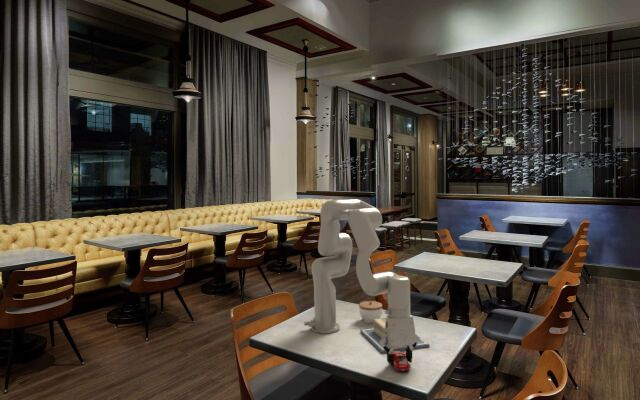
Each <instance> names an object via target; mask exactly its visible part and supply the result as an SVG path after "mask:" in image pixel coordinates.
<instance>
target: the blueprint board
mask: <svg viewBox="0 0 640 400" xmlns="http://www.w3.org/2000/svg"><path fill="white" fill-rule="evenodd" d="M385 323H386V317H384V318H381V317H380V319H373V323H372V324H373V325H372V326H373V328H369V329H360V331H359V332H360V334H362V336H364V338H365V339H366V340H367V341H369V342H370V343H371V344H372V345H373V346H374V347H375V348H376V349H377V350H378V351H379V352H380V353H381V354H382V355H383V354H387V351H385V350H384V349H383V348H382V347H381V346H380V345H379V344H378V343H379V341H380V340H381V339H382V338H383V337H384V335H385ZM417 336H418V337H419V338H420V341H419V342H418V343H417V345H416V346H415V348H414V350H417V349H424V348H429V347H430V343H428V342H427V341H426V340H424V339H423V338H421V337H420V336H419V335H417ZM387 344H388V343H386V342H385V343H384V345H385V346H386V347H387ZM406 348H407V346H401V347H394V349H393V351H400V352H403V351H404V352H405V351H406Z"/></svg>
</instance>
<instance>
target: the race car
mask: <svg viewBox="0 0 640 400" xmlns="http://www.w3.org/2000/svg"><path fill="white" fill-rule="evenodd" d="M392 354H393V355H394V365H393V366H392V367H393V370H395V371H396V372H410V362H408V360H407V358H406V353H405V352H403V351H393V352H392Z"/></svg>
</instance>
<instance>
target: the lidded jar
mask: <svg viewBox="0 0 640 400" xmlns="http://www.w3.org/2000/svg"><path fill="white" fill-rule="evenodd" d="M358 306H359V309H358V310H359V314H360V317H361V318H362V320H363V321H364V322H365V323H368V324H373V319H381V316H382V314H383V304H382V303H381V302H379V301H375V300H367V301H366V300H365V301H361V302H360V303H359V305H358Z"/></svg>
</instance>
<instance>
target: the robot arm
mask: <svg viewBox="0 0 640 400" xmlns="http://www.w3.org/2000/svg"><path fill="white" fill-rule="evenodd" d="M319 214H320V227H319V228H320V229H319V236H318V244H317V250H318V251H317V252H318V253H319V254H320V255H321V256H323V257H319V258H316V259H315V260H314V261H312V263H311V273H312V274H311V275H312V279H313V296H314V297H313V301H314V303H313V305H314V308H313V309H314V310H313V311H314V317H312V319H310V320H305V321H303V326H308V327H309V328H310V329H311V331H312V332H314V333H316V334H333V333H337V332H338V331H339V330H340V328H341V326H340V323H337V300H336V299H337V298H336V297H337V296H336V294H337V290H336V286H335V284H334V282H333V281H332V279H334V278H341V277H343V276H346V275H347V274H348V272H349V270H350V264H351V259H352V252H353V240H352V238H351V236H350V235H349V234H347V233H346V232H341V223H340V221H346V220H347V222H348V225H349V228H350V231H351V234H352V235H353V238H354V241H355V244H356V246H357V249H358V254H357V256H356V263H355V273H356V277H357V279H358V282H359V284H360V286H361V288H362V290H363V292H364V293H365V294H366V295H368V296H369V297H374V296H379V295H383V294H387V299H388V301H387V302H388V303H387V305H388V306H387V309H385V310H384V313H385V314H386V317H385V318H386V323H385V335H384V337H383V338H382V339H381V340H380V341H379V343H378V344H379V345H380V346H381V347H382V348H383V349H384V350H385V351H387V353H386V360H387V362H388V364H389V365H390V366H392V367H394V366H393V365H394V355H393V354H392V352H393V349H394V347H401V346H407V348H406V350H405V354H406V355H405V356H406V358H407V360H408V362H409V364H411V363H413V362H412V361H413V351H414V350H415V349H414V348H415V346H416V345H417V343H418V342H419V341H420V338H421V337H420V336H419V335H417V334H416V327H415V326H416V325H415V320H414V317H413V315H412V314H411V279H410V278H409V277H407V276H405V275H399V274H397V273H395V272H393V271H383V272H376V273H373V272H372V269H371V265H370V257H371V255H372V253H374V252H375V250H377V249H378V248H379V247H380V245H381V242H380V239H379V237H378V235H377V232H376V229H378V228H380V227H381V225H382V224H383V216H382V213H381V212H380V211H379V209H377V208H376V207H375V206H373V205H371V204H368V203H367V202H365V201H363V200H361V199H355V198H353V199H351V198H350V199H349V198H347V199H346V198H345V199H344V198H343V199H331V200H327V201H325V202H323V204H322V206H321V208H320V213H319ZM418 336H419V337H420V338H419V337H418ZM385 342H386V343H388V344H387V347H386V346H385V345H384V343H385Z"/></svg>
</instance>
